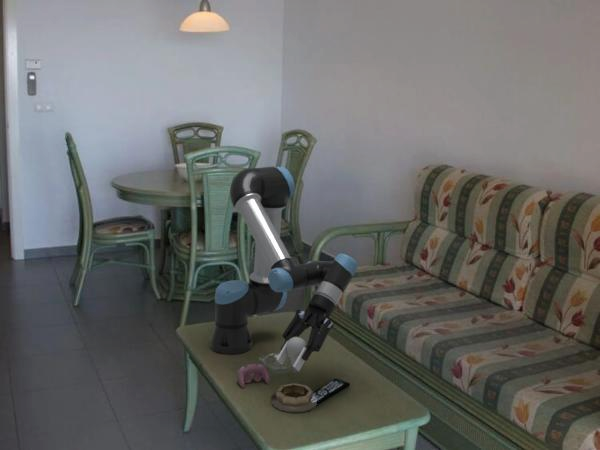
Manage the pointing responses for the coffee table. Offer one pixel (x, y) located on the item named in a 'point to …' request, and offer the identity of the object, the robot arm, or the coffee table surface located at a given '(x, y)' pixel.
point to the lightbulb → (295, 349)
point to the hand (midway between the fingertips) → (287, 365)
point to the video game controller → (249, 369)
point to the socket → (293, 398)
